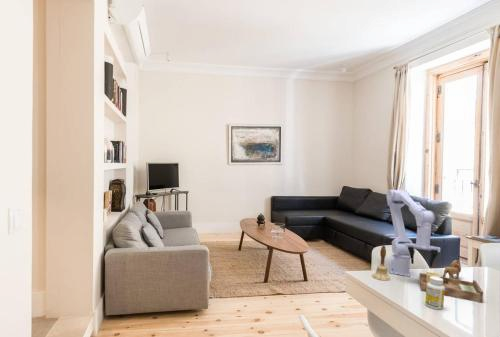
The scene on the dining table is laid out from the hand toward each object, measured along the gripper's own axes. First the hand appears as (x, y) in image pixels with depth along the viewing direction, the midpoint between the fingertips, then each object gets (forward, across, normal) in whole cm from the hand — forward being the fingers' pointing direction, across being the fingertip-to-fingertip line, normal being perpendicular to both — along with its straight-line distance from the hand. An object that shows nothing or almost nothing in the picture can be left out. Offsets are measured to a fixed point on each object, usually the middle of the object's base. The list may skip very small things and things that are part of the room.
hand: (421, 264), depth 156 cm
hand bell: (+10, -17, 0) cm, 20 cm away
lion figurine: (+10, +16, +18) cm, 26 cm away
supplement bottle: (+10, +2, -25) cm, 27 cm away
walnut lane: (+9, +11, -2) cm, 15 cm away
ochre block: (+7, +5, -1) cm, 9 cm away
